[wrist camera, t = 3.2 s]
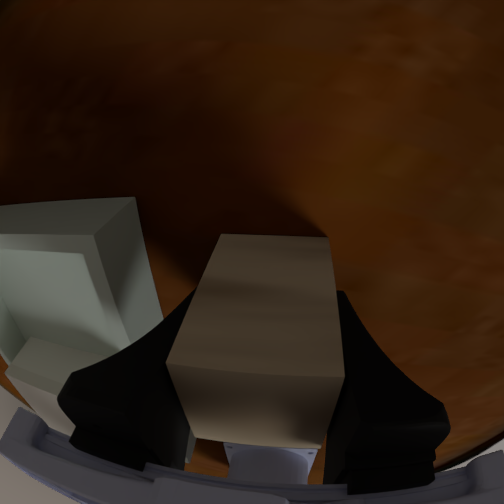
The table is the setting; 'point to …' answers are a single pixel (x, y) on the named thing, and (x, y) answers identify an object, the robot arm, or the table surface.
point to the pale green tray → (76, 277)
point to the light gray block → (47, 377)
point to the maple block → (261, 343)
